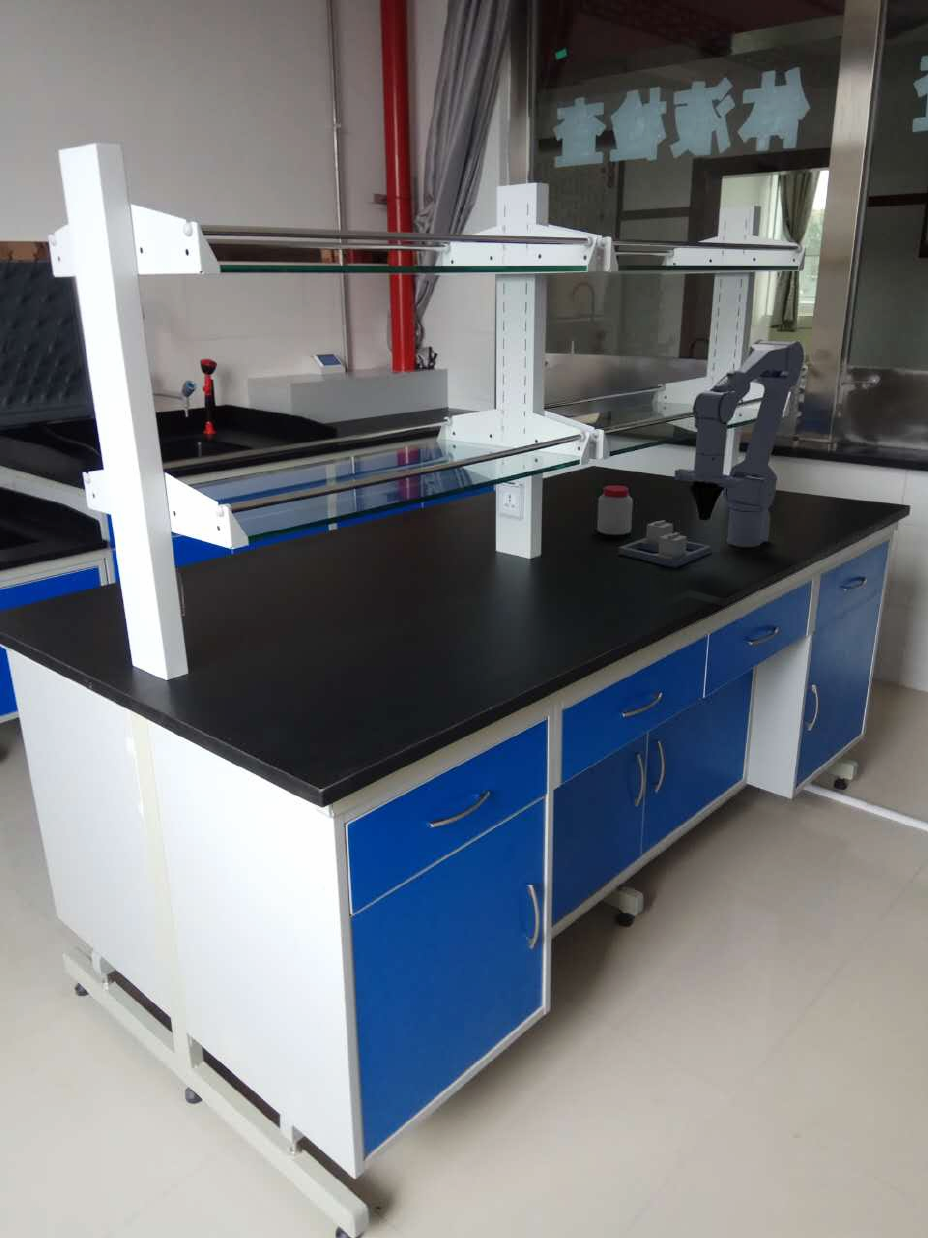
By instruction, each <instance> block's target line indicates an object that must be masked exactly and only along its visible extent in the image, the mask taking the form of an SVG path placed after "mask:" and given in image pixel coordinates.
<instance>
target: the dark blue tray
mask: <svg viewBox="0 0 928 1238" xmlns="http://www.w3.org/2000/svg"><path fill="white" fill-rule="evenodd" d="M712 548H713V546H710V545H708V544H707V545H706V544H702V543H697V542H693V541H688V540H687V543H686V554H685V555H682V556H680V557H677V558H675V559H673V557H669V556H664V555H660V554H658V553H659V545H658V544H653V543H649V542H646V537H645V538H641V539H639V540H637V541H633V542H631V543H628V544H625V545H621V546H620V547H618V555H621V556H627V557H629V558H634V559H638V560H643V561H646V562H650V563H655V564H659V565H663V566H667V567H671V568H678V567H680V566H682V565H685V564H688V563H690V562H692V561H695V560H698V559H700V558H702V557H705V556H707V555H710V554H712V550H713V549H712ZM639 549H640V550H639ZM643 550H645V551H643ZM647 551H649V552H647ZM652 552H654V553H652Z"/></svg>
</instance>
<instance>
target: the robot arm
mask: <svg viewBox="0 0 928 1238" xmlns="http://www.w3.org/2000/svg"><path fill="white" fill-rule="evenodd" d="M804 361H805V355H804V347H803V345H802V343H801V342H800V341H796V340H795V341H782V340H780V341H779V340H762V339H756V340H755V341H754V342H753V343H752V344H751V345H750V347H749V351H748V356H747V358H746V360H745V361H744V362H743V363H742V365H740V367H739V369H737V370H728V371H727V372H726V374H725V375H724V376H723V377H722V378H721V379H720V380H719V381H718V382H716V384H715V385H714V386H713V387H712V388H711V389H710V390H703V391H702V392H699V394H697V396H696V397H695V399H694V401H693V402H694V403H693V406H692V415H693V417H694V428H695V429H696V441H695V442H696V443H695V454H694V455H695V456H694V466H693V467H694V468H693V470H692V469H682V468H680V469H679V468H678V469H675V470H674V478H673V479H674V480H676V481H687V482H692V485H690V486H689V490H690V492H691V493H692V496H693V498H694V501H695V504H696V508H697V512H698V520H701V521H707V520H710V519H711V517H712V513H713V512H714V511H713V510H714V508H715V505H716V502H717V501H718V499H719V497H720V496H721V494H722V497H723V499H724V501H725V502H726V503H727V507H729V515H728V524H727V525H728V527H727V536H726V537H727V538H726V539H727V540H726V542H727V544H729V545H731V546H735V547H741V548H754V547H758V546H759V547H760V545H762V543H764V542H769V536H770V535H769V534H770V525H771V514H770V511H769V509H768V508H770V506H771V505H772V504H773V502H774V501H775V497H776V491H777V490H776V489H777V488H776V487H777V482H778V476H777V474H776V473H775V472H774V470H772V468H771V467H770V465H769V462H770V459H771V456H772V452H773V448H774V446H775V442H776V438H777V434H778V431H779V428H780V425H781V420H782V417H783V414H784V410H785V407H786V404H787V400H788V396H789V393H790V389H791V388H793V387H794V386H796V385H797V384H798V380H799V377H800V375H801V371H802V368H803V364H804ZM755 380H756V382H757V383H759V384H760V385H762V387H763V389H764V390H763V395H762V397H761V401H760V404H759V408H758V412H757V414H756V419H755V422H754V426H753V427H752V428H753V429H752V432H751V435H750V439H749V443H748V446H747V449H746V454H745V457H744V459H743V460H742V461H740V462H739V463H737V464H735V465H733V466H732V467H731V468H730V469H731V470H730V471H729V474H725V473H724V469H725V468H724V467H725V466H724V465H725V456H726V448H727V447H726V446H727V445H726V443H727V435H728V424H729V423H728V422H730V421H731V420H732V419H733V417H734V414H735V412H736V409H737V407H738V404H739V403H740V401H741V400H743V398H745V397H746V396H747V395H748V394H749V393H750V390H751V383H752V382H753V381H755Z"/></svg>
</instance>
